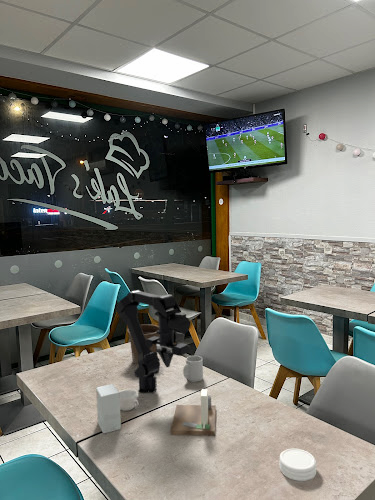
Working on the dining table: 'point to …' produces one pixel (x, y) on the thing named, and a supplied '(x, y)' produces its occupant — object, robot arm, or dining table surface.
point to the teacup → (128, 399)
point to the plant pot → (148, 333)
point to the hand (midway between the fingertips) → (167, 366)
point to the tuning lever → (205, 406)
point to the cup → (193, 368)
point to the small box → (108, 408)
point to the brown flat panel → (192, 421)
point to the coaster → (297, 464)
